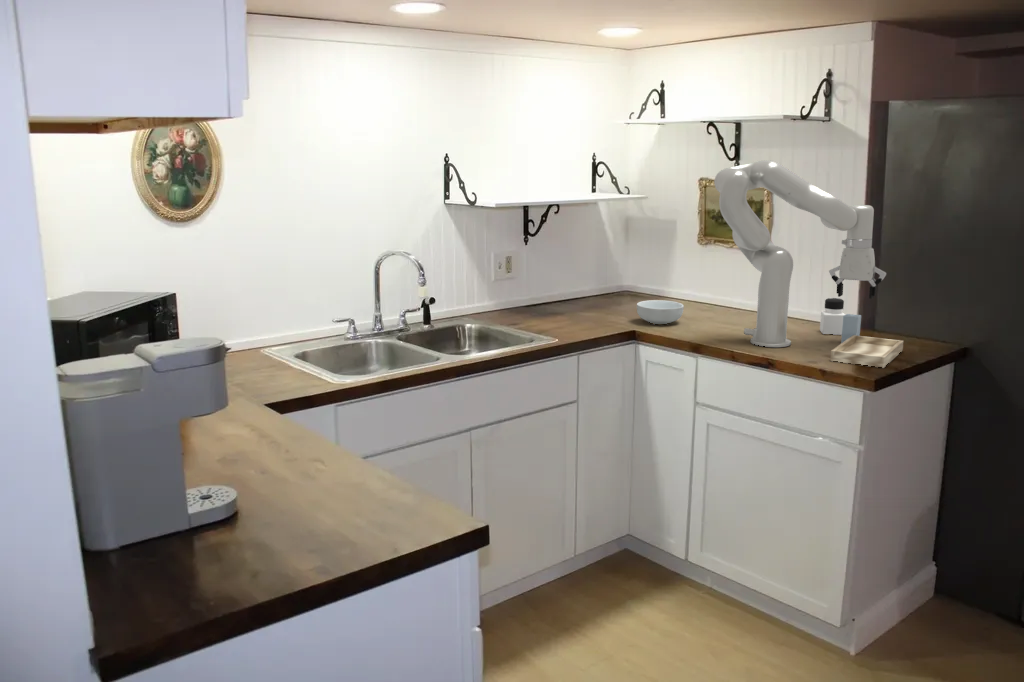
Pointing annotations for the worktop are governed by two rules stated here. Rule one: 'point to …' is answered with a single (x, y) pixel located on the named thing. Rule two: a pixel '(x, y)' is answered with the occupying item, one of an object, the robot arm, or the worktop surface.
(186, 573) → the worktop surface
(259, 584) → the worktop surface
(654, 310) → the cereal bowl
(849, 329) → the block
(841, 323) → the medicine bottle
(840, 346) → the tray
